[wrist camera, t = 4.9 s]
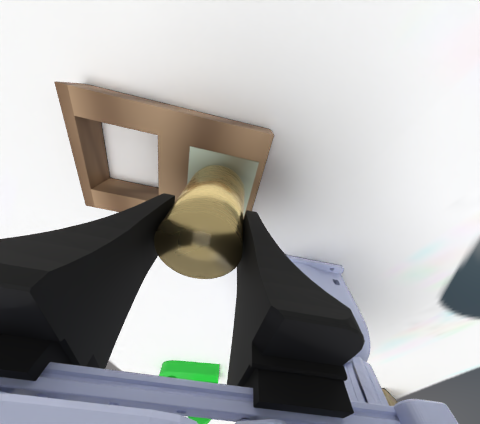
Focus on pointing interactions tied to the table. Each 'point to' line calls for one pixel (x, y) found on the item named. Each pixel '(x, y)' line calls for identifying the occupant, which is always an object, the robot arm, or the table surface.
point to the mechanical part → (191, 375)
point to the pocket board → (169, 145)
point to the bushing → (204, 225)
